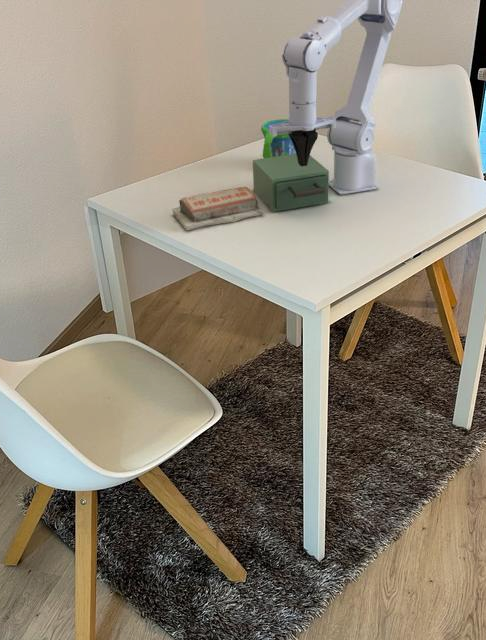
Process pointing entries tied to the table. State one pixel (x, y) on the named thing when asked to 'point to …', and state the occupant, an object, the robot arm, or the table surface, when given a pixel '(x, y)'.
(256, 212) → the packaged product
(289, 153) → the snack cup
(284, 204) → the drawer
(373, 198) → the table surface
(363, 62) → the robot arm
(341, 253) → the table surface
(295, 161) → the small green cabinet
